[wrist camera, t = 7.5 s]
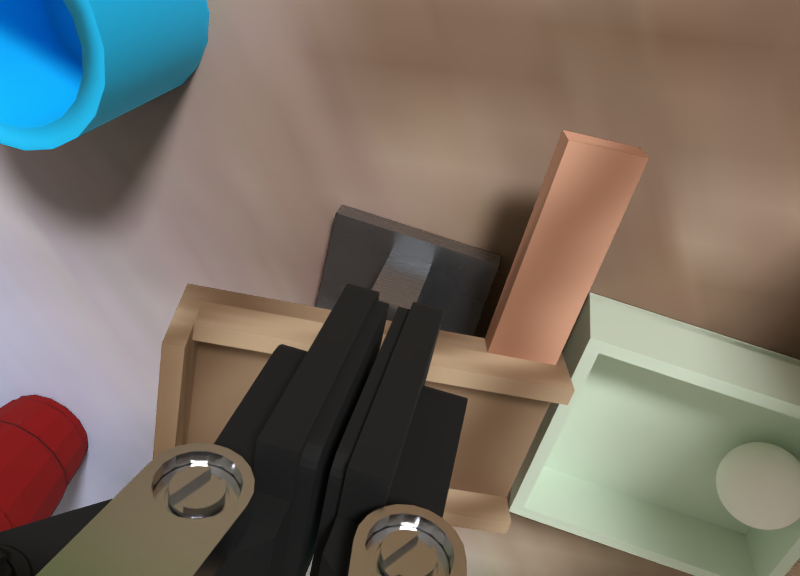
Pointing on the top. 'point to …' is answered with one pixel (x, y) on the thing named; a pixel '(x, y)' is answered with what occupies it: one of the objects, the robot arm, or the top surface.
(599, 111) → the top surface
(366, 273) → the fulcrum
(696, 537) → the tray
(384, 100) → the top surface
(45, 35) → the mug
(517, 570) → the top surface
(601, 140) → the chute
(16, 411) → the plastic cup
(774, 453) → the ball
